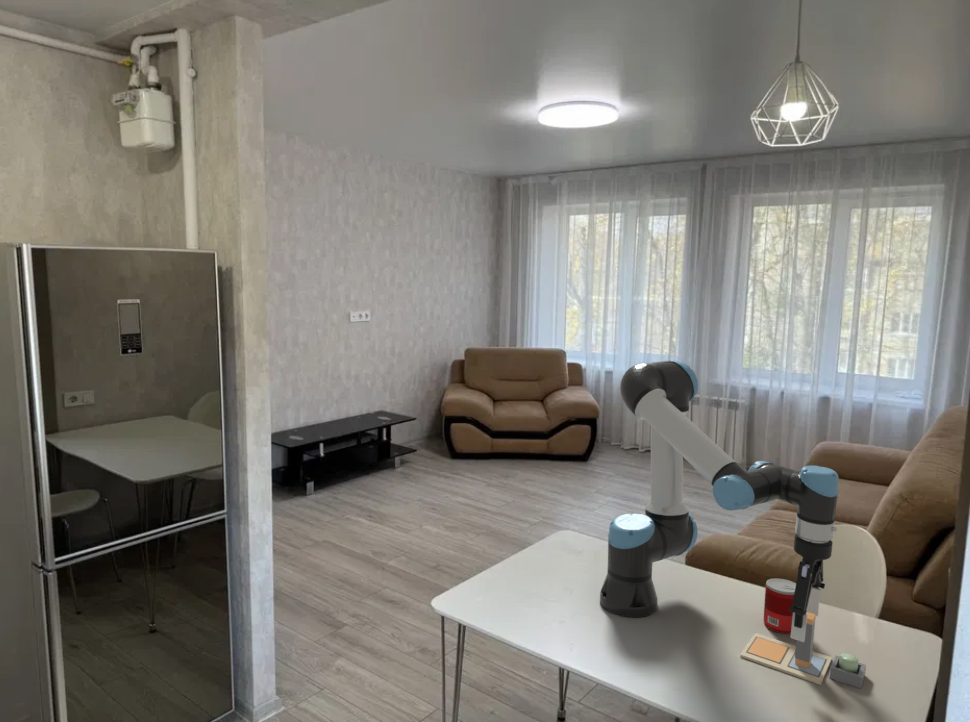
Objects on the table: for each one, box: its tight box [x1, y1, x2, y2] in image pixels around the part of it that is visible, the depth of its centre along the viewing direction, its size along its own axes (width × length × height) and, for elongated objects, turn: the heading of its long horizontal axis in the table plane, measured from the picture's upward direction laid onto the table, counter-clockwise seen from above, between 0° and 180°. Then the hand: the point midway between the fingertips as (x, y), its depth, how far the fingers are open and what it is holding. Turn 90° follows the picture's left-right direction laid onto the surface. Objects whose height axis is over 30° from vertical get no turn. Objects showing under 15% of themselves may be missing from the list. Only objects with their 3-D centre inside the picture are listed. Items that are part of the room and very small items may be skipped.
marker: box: [795, 612, 817, 669], centre depth 148 cm, size 3×3×12 cm
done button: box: [839, 653, 859, 674], centre depth 145 cm, size 4×4×3 cm
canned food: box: [763, 577, 796, 635], centre depth 166 cm, size 8×8×11 cm
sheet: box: [739, 632, 833, 686], centre depth 152 cm, size 17×12×1 cm
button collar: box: [829, 655, 867, 689], centre depth 145 cm, size 6×6×2 cm
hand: (804, 626), depth 148 cm, fingers open, 13 cm apart
